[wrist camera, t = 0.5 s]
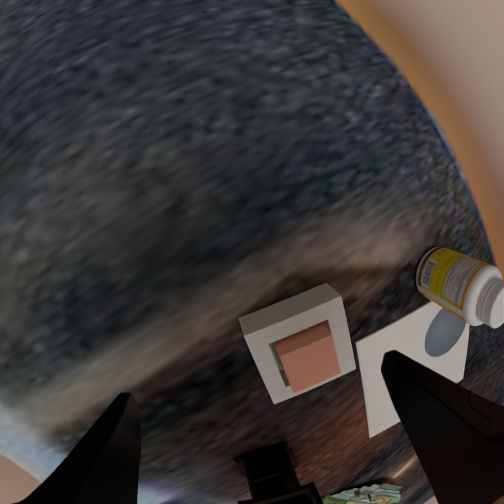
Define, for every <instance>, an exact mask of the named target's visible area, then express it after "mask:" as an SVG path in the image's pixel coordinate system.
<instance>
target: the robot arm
mask: <svg viewBox="0 0 504 504" xmlns="http://www.w3.org/2000/svg"><path fill="white" fill-rule="evenodd" d="M381 374H382V377H383V379H384V382H385V385H386V387H387V390H388V393H389V396H390V398H391V401H392V404H393V406H394V408H395V411H396V413H397V415H398V417H399V419H400V421H401V423H402V425H403V427H404V429H405V431H406V433H407V435H408V437H409V439H410V441H411V443H412V445H413V448H414V450H415V452H416V454H417V456H418V458H419V460H420V463H421V465H422V467H423V469H424V471H425V474H426V476H427V478H428V480H429V482H430V485H431V487H432V489H433V492H434V494H435V497H436V499H437V501H438V503H439V504H504V406H503V405H500V404H498V403H495V402H493V401H491V400H488V399H486V398H484V397H482V396H480V395H478V394H476V393H474V392H472V391H470V390H467V389H466V388H465V387H463V386H461V385H459V384H457V383H455V382H453V381H452V380H450V379H448V378H446V377H444V376H442V375H441V374H439V373H437V372H435V371H433V370H431V369H430V368H428V367H426V366H424V365H422V364H420V363H419V362H417V361H415V360H413V359H411V358H410V357H408V356H406V355H404V354H402V353H401V352H399V351H397V350H391V351H388V352H385V354H384V356H383V361H382V365H381ZM140 454H141V420H140V407H139V405H138V403H137V402H136V400H135V398H134V396H133V395H132V394H131V393H120V394H119V395H118V396H117V397H116V398H115V399H114V401H113V402H112V403H111V404H110V405H109V407H108V408H107V409H106V410H105V411H104V412H103V414H102V415H101V416H100V417H99V418H98V420H97V421H96V422H95V423H94V424H93V426H92V427H91V428H90V429H89V430H88V432H87V433H86V434H85V435H84V436H83V437H82V439H81V440H80V441H79V442H78V443H77V445H76V446H75V447H74V448H73V449H72V451H71V452H70V453H69V454H68V457H66V458H65V459H64V460H63V461H62V463H61V464H60V465H59V466H58V467H57V468H56V469H55V471H54V472H53V473H52V474H51V475H50V476H49V477H48V478H47V479H46V480H45V481H44V482H43V483H42V484H40V485H39V486H38V487H37V488H36V489H35V490H34V491H33V492H32V493H31V494H30V495H29V496H28V497H26V498H25V499H24V500H22V501H20V502H17V503H13V504H137V494H138V479H139V466H140ZM235 463H236V464H237V465H238V467H239V468H240V469H241V470H242V472H243V473H244V474H245V475H246V477H247V480H248V485H249V489H250V493H251V497H252V499H250V500H245V501H238V504H324V503H323V501H322V499H321V497H320V495H319V493H318V491H317V489H316V487H315V484H314V482H310V483H309V484H306V485H303V486H300V483H299V480H298V478H297V475H296V472H295V470H294V469H295V468H297V467H298V465H297V462H296V461H295V459H294V457H293V455H292V453H291V451H290V449H289V447H288V445H287V443H286V442H282V443H279V444H276V445H274V446H271V447H268V448H265V449H262V450H259V451H256V452H252V453H249V454H246V455H243V456H239V457H236V458H235Z"/></svg>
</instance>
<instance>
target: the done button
mask: <svg viewBox="0 0 504 504" xmlns="http://www.w3.org/2000/svg"><path fill="white" fill-rule="evenodd" d="M273 344H274V346H275V349H276V351H277V354H278V357H279V359H280V362H281V365H282V367H283V370H284V373H285V375H286V377H287V380H288V382H289V384H290V386H291V388H292V391H293V393H296V392H298V391H301V390H303V389H306V388H308V387H310V386H313V385H315V384H317V383H319V382H322V381H324V380H326V379H328V378H331V377H333V376H335V375H337V374H339V373H341V371H340V367H339V363H338V358H337V354H336V350H335V345H334V341H333V337H332V334H331V333H330V331H329V330H328V329H327V328H326V327H325V325H324V324H323V323H322V322H320V323H318V324H316V325H313V326H311V327H309V328H306V329H304V330H302V331H299V332H297V333H295V334H292V335H290V336H287V337H285V338H282V339H280V340H277V341H275V342H273Z"/></svg>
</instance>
